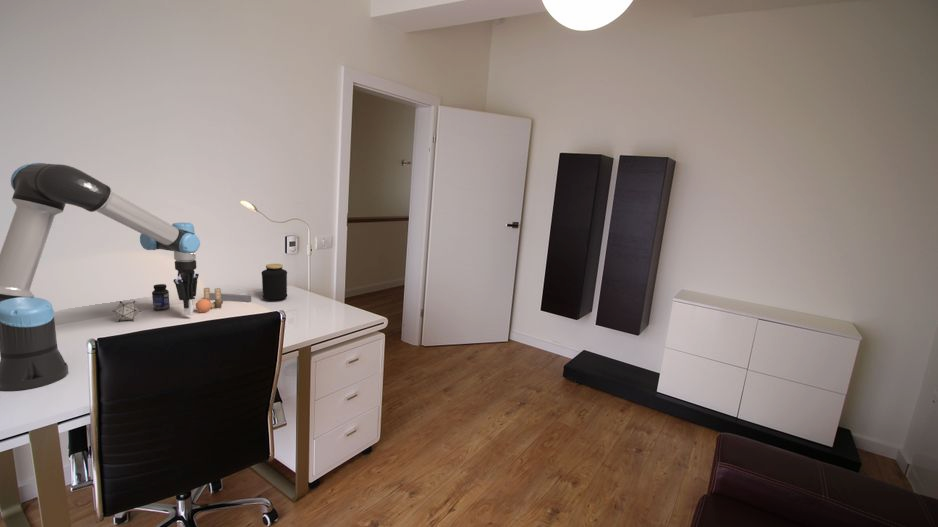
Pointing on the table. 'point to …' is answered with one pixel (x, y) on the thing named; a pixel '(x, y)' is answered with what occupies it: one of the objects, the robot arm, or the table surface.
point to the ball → (203, 305)
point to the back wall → (232, 297)
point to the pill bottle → (160, 297)
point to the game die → (126, 311)
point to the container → (274, 282)
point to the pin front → (214, 304)
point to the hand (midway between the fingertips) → (188, 314)
